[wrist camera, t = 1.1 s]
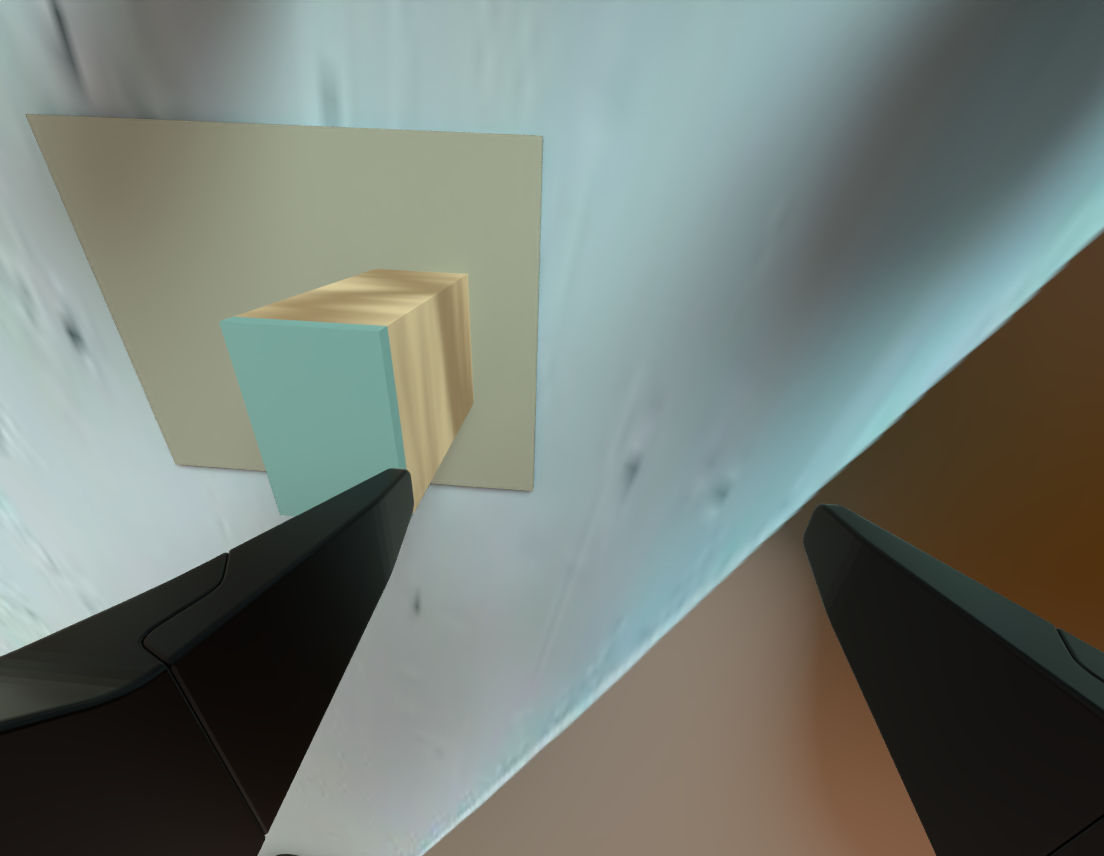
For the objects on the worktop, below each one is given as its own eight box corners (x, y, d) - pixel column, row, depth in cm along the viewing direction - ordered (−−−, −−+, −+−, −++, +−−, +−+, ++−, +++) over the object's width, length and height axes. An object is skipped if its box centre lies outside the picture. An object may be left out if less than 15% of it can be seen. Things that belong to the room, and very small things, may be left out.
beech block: (467, 274, 18) (379, 331, 11) (473, 402, 21) (407, 524, 13) (375, 269, 19) (219, 321, 11) (393, 397, 21) (280, 514, 13)
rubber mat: (542, 137, 16) (542, 135, 16) (533, 486, 24) (532, 491, 24) (36, 115, 17) (25, 114, 17) (181, 460, 25) (175, 464, 24)
